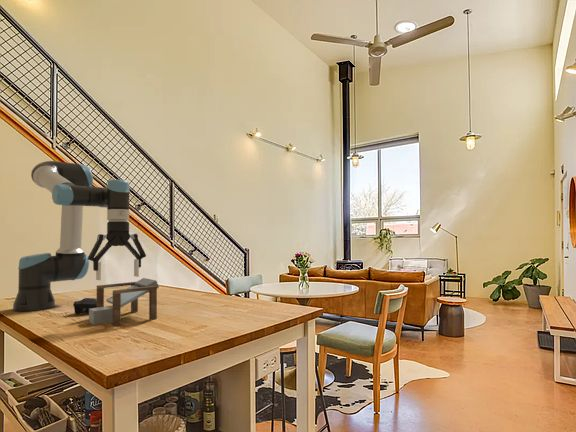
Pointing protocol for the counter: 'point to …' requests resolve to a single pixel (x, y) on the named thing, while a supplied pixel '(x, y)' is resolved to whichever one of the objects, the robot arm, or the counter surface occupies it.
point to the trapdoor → (132, 296)
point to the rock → (84, 305)
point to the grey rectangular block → (101, 315)
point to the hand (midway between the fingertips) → (118, 278)
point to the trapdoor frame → (134, 303)
